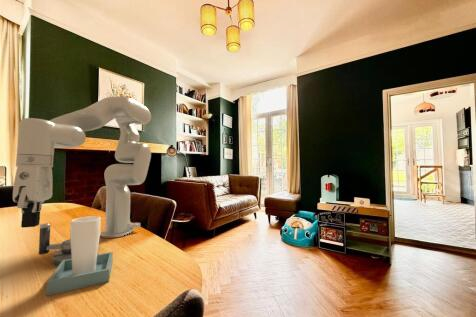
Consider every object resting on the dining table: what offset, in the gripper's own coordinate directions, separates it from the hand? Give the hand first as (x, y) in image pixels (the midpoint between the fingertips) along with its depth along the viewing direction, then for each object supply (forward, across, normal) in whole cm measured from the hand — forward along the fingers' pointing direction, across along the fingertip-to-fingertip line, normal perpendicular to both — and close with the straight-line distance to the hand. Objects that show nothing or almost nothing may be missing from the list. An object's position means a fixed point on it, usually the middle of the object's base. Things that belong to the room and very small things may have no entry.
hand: (30, 226), depth 56 cm
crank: (+10, +8, -5) cm, 14 cm away
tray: (+13, -6, -15) cm, 21 cm away
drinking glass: (+13, -6, -15) cm, 21 cm away
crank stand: (+13, +11, -7) cm, 18 cm away
